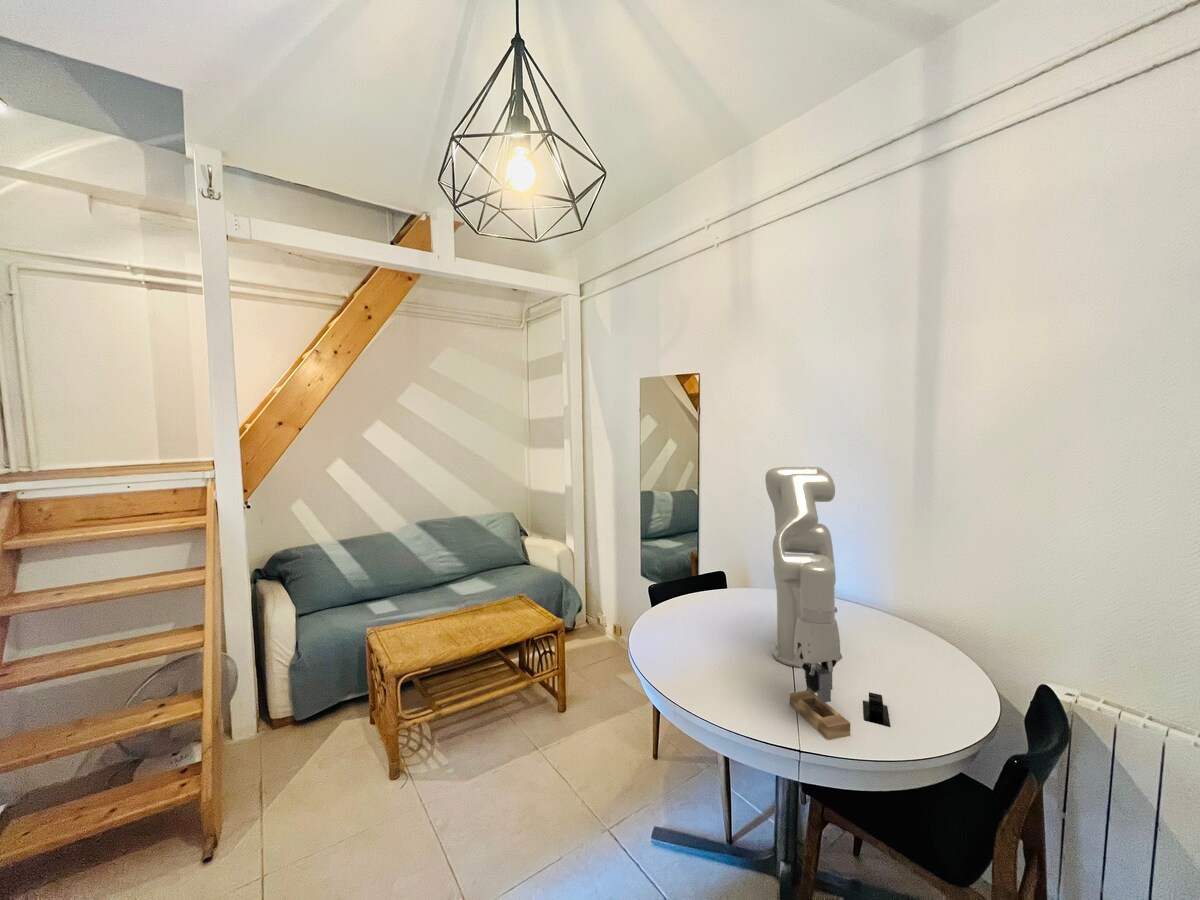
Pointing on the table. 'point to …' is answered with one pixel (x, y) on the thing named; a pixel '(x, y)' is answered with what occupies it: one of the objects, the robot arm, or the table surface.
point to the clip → (822, 683)
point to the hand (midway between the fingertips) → (818, 686)
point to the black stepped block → (876, 710)
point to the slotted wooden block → (827, 725)
